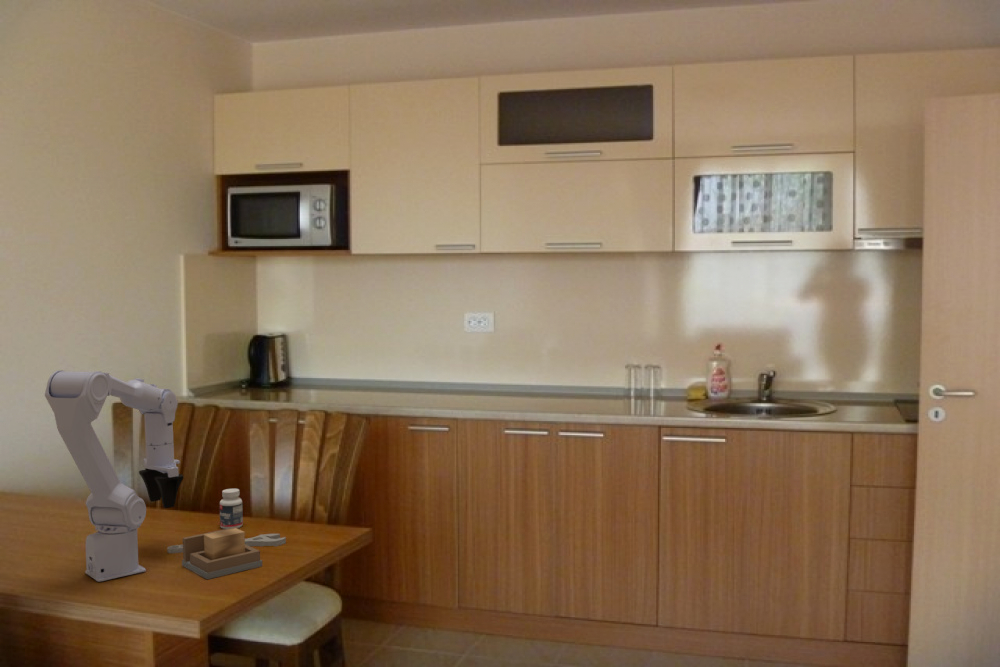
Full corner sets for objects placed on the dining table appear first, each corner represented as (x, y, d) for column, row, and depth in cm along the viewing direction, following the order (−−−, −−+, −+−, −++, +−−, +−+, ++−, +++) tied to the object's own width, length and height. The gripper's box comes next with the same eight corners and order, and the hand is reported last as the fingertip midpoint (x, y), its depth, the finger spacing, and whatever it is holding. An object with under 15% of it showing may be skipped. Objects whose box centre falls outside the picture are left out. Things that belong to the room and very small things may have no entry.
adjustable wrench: (166, 556, 193) (166, 548, 193) (171, 547, 199) (170, 540, 199) (284, 547, 198) (284, 539, 198) (285, 539, 205) (285, 531, 204)
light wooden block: (213, 567, 179) (212, 538, 179) (204, 563, 182) (203, 534, 182) (245, 560, 184) (244, 532, 184) (236, 556, 187) (236, 528, 187)
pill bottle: (215, 527, 214) (214, 491, 213) (232, 522, 218) (232, 486, 217) (230, 530, 211) (229, 493, 210) (247, 525, 215) (246, 489, 215)
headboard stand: (206, 579, 176) (206, 549, 176) (182, 565, 185) (181, 537, 184) (262, 566, 184) (261, 537, 184) (236, 553, 193) (235, 526, 192)
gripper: (191, 444, 191) (193, 506, 192) (164, 436, 202) (167, 494, 203) (158, 449, 186) (161, 513, 187) (133, 440, 197) (135, 500, 198)
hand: (162, 504), depth 195 cm, fingers open, 7 cm apart
